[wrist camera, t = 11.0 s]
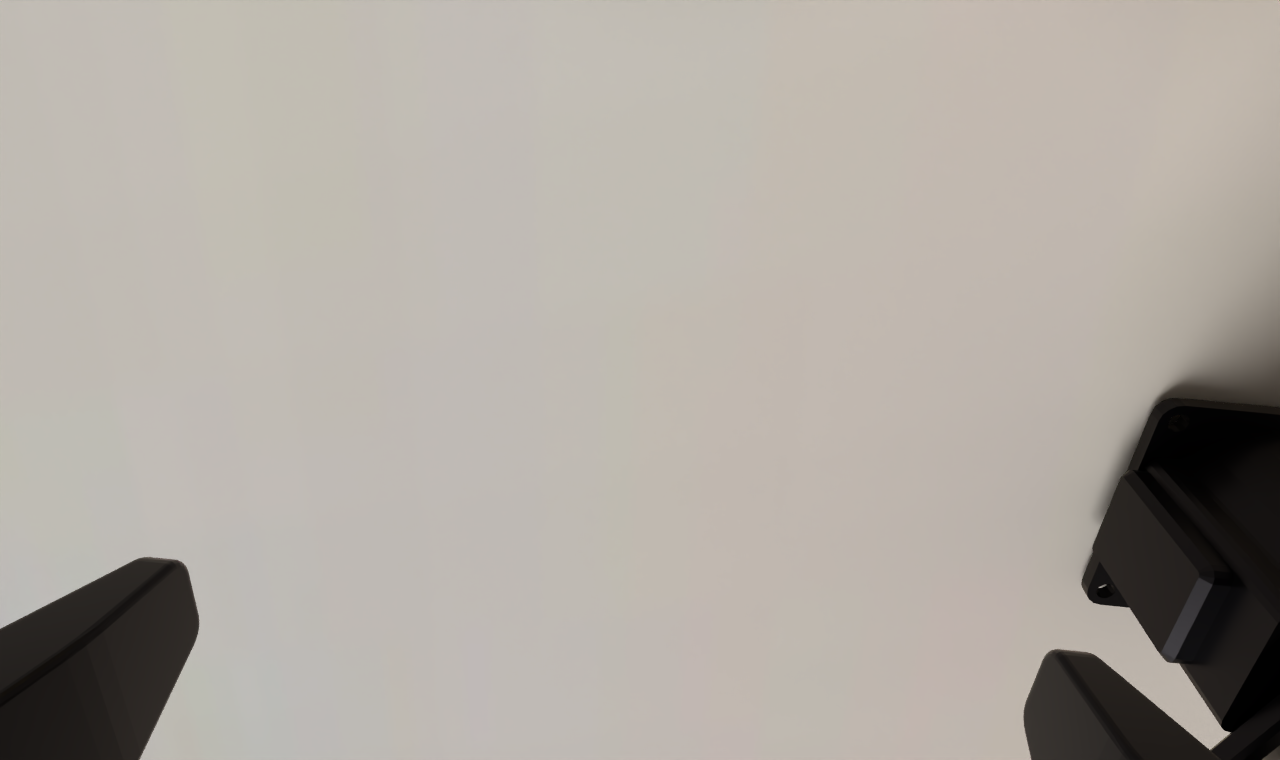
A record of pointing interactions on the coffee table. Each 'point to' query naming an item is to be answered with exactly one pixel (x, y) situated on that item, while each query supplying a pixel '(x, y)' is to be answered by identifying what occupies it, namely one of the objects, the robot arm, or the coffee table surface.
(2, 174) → the coffee table surface
